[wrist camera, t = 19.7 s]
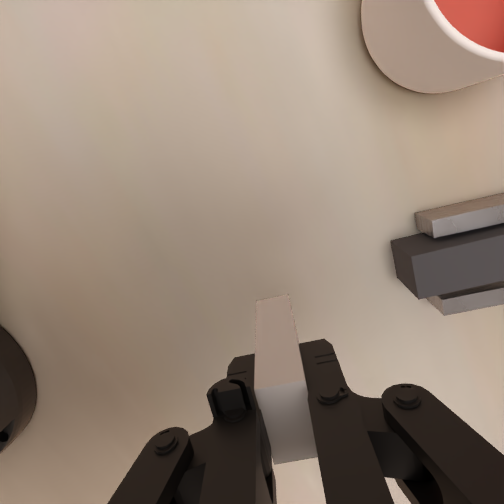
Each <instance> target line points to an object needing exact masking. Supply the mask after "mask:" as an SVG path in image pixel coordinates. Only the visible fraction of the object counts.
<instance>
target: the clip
mask: <svg viewBox="0 0 504 504" xmlns="http://www.w3.org/2000/svg"><path fill="white" fill-rule="evenodd" d="M415 218H416V225H417V229H418V230H420V231H422V232H424V233H426V234H428V235H429V236H431V237H433V238H436V237H441V236H446V235H450V234H455V233H459V232H464V231H468V230H473V229H478V228H482V227H487V226H491V225H496V224H501V223H504V193H501V194H497V195H492V196H488V197H483V198H479V199H475V200H470V201H466V202H461V203H457V204H453V205H448V206H444V207H439V208H435V209H430V210H426V211H422V212H417V213H415ZM427 300H428V301H429V302H430V303H431V304H432V305H433V306H435V307H436V308H437V309H438V310H439V311H440V312H441V313H442V314H443V315H444V316H445V315H450V314H455V313H461V312H466V311H471V310H476V309H481V308H486V307H491V306H497V305H502V304H504V281H499V282H495V283H490V284H486V285H481V286H477V287H472V288H468V289H463V290H459V291H454V292H450V293H445V294H441V295H436V296H432V297H427Z"/></svg>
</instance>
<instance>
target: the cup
mask: <svg viewBox="0 0 504 504" xmlns="http://www.w3.org/2000/svg"><path fill="white" fill-rule="evenodd" d="M361 23H362V31H363V36H364V40H365V43H366V46H367V49H368V51H369V53H370V55H371V57H372V59H373V60H374V62H375V63H376V64H377V66H378V67H379V69H380V70H381V71H382V72H383V73H384V74H385V75H386V76H387V77H388V78H390V79H391V80H392V81H394V82H395V83H397V84H398V85H400V86H402V87H405V88H407V89H410V90H413V91H416V92H422V93H446V92H451V91H455V90H459V89H462V88H465V87H468V86H471V85H474V84H477V83H480V82H483V81H487V80H490V79H493V78H496V77H499V76H502V75H504V0H362V5H361Z"/></svg>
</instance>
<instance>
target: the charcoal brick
mask: <svg viewBox="0 0 504 504" xmlns="http://www.w3.org/2000/svg"><path fill="white" fill-rule="evenodd" d="M391 247H392V252H393V257H394V263H395V268H396V273H397V278H398V279H399V280H400V281H401V282H402V283H403V284H404V285H405V286H406V287H407V288H408V289H409V290H410V291H411V292H412V293H413V294H414V295H415V296H416V297H417V298H418V299H423V298H427V297H432V296H436V295H441V294H445V293H450V292H454V291H459V290H463V289H468V288H472V287H477V286H481V285H486V284H490V283H495V282H499V281H504V223H501V224H496V225H491V226H487V227H482V228H478V229H473V230H468V231H464V232H459V233H455V234H450V235H446V236H441V237H436V238H433V237H431V236H429V235H428V234H426V233H420V234H416V235H412V236H408V237H404V238H399V239H395V240H391Z"/></svg>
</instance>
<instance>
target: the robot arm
mask: <svg viewBox="0 0 504 504" xmlns="http://www.w3.org/2000/svg"><path fill="white" fill-rule="evenodd" d="M207 398H208V401H209V405H210V408H211V411H212V414H213V417H214V419H213V424H211V425H210V426H209V427H207V428H205V429H203V430H201V431H199V432H197V433H195V434H192V435H190V436H189V435H188V432H187V431H186V430H185V429H184V428H180V427H173V428H168V429H165V430H163V431H161V432H159V433H157V434H156V435H155V436H153V437H152V438H151V439H150V440H149V442H148V443H147V444H146V445H145V447H144V448H143V450H142V451H141V453H140V455H139V456H138V458H137V459H136V461H135V462H134V464H133V465H132V467H131V468H130V470H129V471H128V473H127V474H126V476H125V478H124V479H123V481H122V482H121V484H120V485H119V487H118V488H117V490H116V491H115V493H114V494H113V496H112V497H111V499H110V501H109V502H108V504H277V501H276V480H275V476H274V472H273V469H272V458H273V462H274V465H275V464H281V463H286V462H292V461H298V460H304V459H309V458H315V457H318V460H319V466H320V471H321V477H322V482H323V487H324V493H325V498H326V504H394V502H393V499H392V497H391V494H390V491H389V489H388V486H387V483H386V481H385V478H384V477H388V478H395V480H396V482H397V484H398V486H399V487H400V489H401V490H402V491H403V493H404V494H405V495H406V497H407V498H408V500H409V501H410V502H411V504H504V455H503V454H502V453H501V452H499V451H498V450H497V449H496V448H495V447H493V446H492V445H491V444H490V443H489V442H488V441H486V440H485V439H484V438H483V437H482V436H481V435H479V434H478V433H477V432H476V431H475V430H474V429H472V428H471V427H470V426H469V425H468V424H467V423H465V422H464V421H463V420H462V419H461V418H460V417H458V416H457V415H456V414H455V413H454V412H452V411H451V410H450V409H449V408H448V407H447V406H445V405H444V404H443V403H442V402H441V401H440V400H438V399H437V398H436V397H435V396H434V395H433V394H431V393H430V392H429V391H428V390H426V389H424V388H423V387H421V386H417V385H414V384H398V385H393V386H391V387H389V388H387V389H386V390H385V391H384V393H383V394H382V398H368V397H363V396H360V395H357V394H356V393H354V392H352V391H351V390H350V388H349V387H348V386H347V384H346V381H345V378H344V376H343V373H342V370H341V368H340V365H339V362H338V360H337V357H336V354H335V351H334V349H333V346H332V344H330V343H329V342H328V341H326V340H325V339H321V340H315V341H310V342H305V343H300V344H299V340H298V335H297V331H296V326H295V322H294V317H293V313H292V308H291V304H290V300H289V295H288V294H286V295H281V296H277V297H272V298H267V299H262V300H258V301H256V334H255V354H250V355H245V356H240V357H235V358H234V359H233V360H232V362H231V363H230V364H229V366H228V372H227V378H226V379H223V380H220V381H219V382H217V383H215V384H214V385H213V386H212V387H211V388H210V389H209V391H208V393H207ZM35 402H36V386H35V380H34V376H33V373H32V370H31V367H30V365H29V363H28V361H27V358H26V357H25V355H24V353H23V352H22V350H21V349H20V347H19V346H18V345H17V343H16V342H15V341H14V340H13V339H12V337H11V336H10V335H9V334H8V333H7V332H6V331H4V330H3V329H2V328H1V327H0V453H1V452H3V451H4V450H5V449H6V448H7V447H8V446H9V445H10V444H11V443H12V442H13V441H14V439H15V438H16V437H17V436H18V435H19V434H20V433H21V432H22V431H23V429H24V428H25V427H26V426H27V424H28V422H29V421H30V419H31V417H32V414H33V411H34V408H35ZM271 454H272V458H271Z"/></svg>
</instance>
